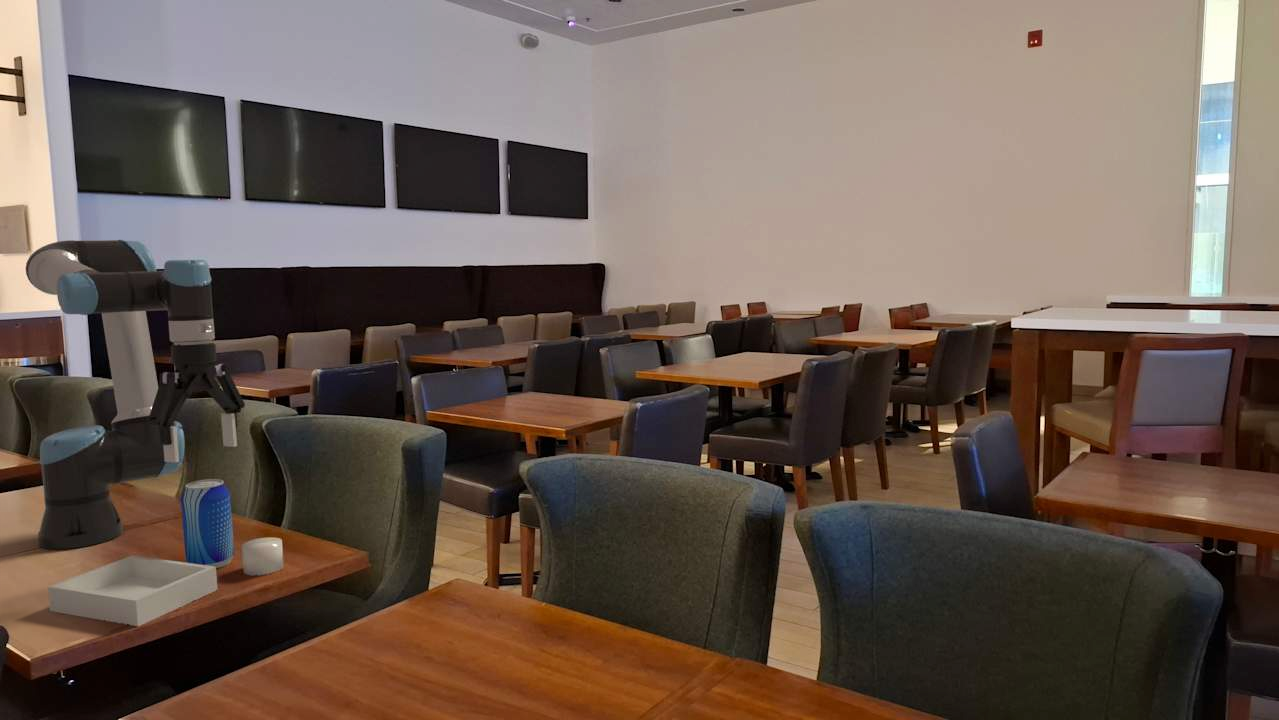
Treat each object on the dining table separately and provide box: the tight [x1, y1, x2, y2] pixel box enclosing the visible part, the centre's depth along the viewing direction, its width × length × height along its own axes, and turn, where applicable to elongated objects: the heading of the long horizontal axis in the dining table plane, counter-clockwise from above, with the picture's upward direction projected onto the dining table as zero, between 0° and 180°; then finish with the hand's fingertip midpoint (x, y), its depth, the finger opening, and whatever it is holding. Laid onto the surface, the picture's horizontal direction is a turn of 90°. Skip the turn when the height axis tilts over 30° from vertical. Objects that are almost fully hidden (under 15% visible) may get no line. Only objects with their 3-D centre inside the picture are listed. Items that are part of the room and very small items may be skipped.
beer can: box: [180, 478, 235, 569], centre depth 166 cm, size 8×8×16 cm
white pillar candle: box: [241, 536, 285, 576], centre depth 164 cm, size 7×7×5 cm
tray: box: [47, 554, 218, 627], centre depth 150 cm, size 20×16×4 cm
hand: (202, 453), depth 165 cm, fingers open, 13 cm apart
